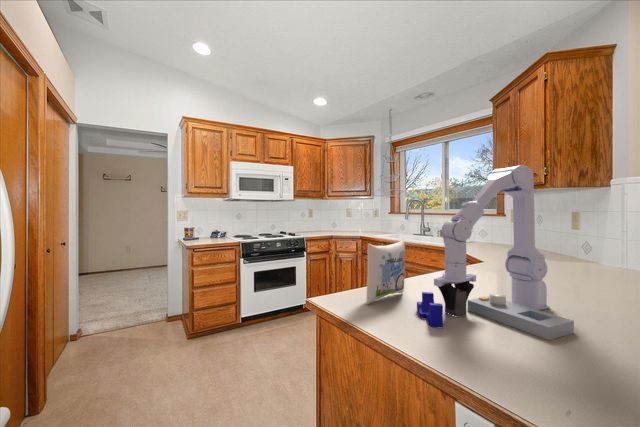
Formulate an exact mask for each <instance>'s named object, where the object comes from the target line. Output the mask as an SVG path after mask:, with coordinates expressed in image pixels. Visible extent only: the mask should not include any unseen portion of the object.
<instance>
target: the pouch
mask: <svg viewBox="0 0 640 427" xmlns="http://www.w3.org/2000/svg"><path fill="white" fill-rule="evenodd" d="M405 249H406V245H405V239H402V240H400V241H397V242H396V243H391V244H388V245H373V244H371V243H367V256H366V257H367V262H366V263H367V277H366V278H367V279H366V305H370V304H371V303H373V302H375V301H376V300H378V299H381V298H384V297H386V296H388V295H390V294H391V295H392V294H397V293H398V294H403V293H404V291H405V261H406V260H405V259H406V258H405V257H406V255H405V252H406V250H405Z"/></svg>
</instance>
